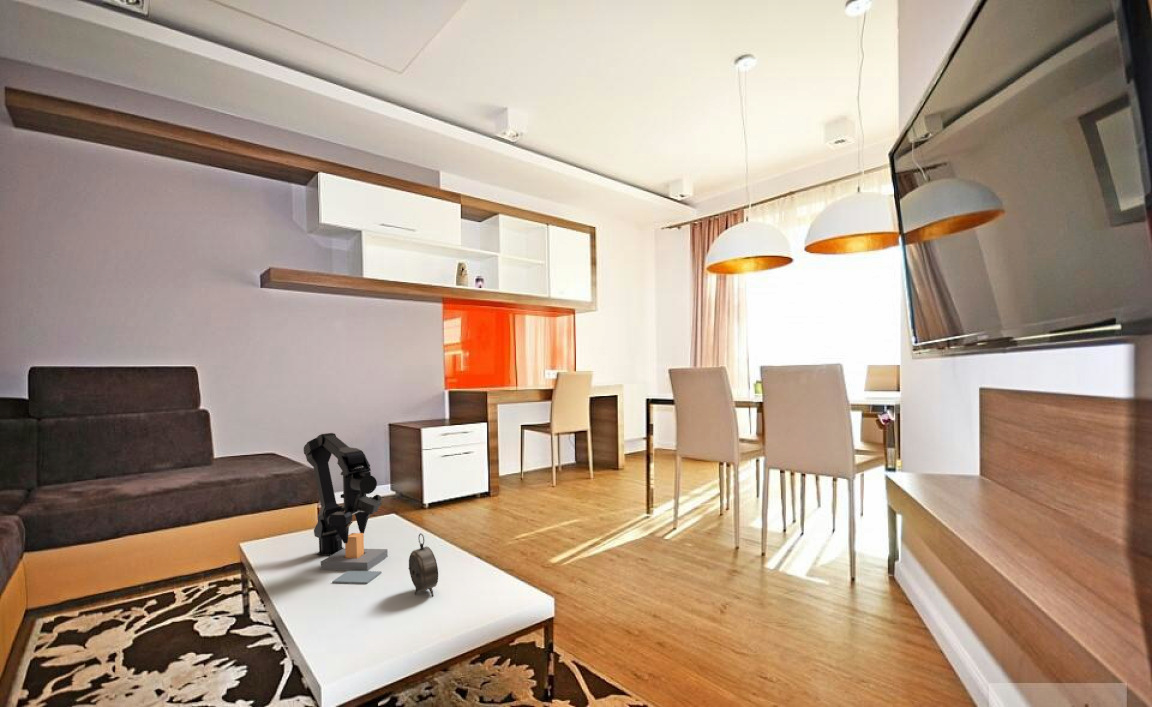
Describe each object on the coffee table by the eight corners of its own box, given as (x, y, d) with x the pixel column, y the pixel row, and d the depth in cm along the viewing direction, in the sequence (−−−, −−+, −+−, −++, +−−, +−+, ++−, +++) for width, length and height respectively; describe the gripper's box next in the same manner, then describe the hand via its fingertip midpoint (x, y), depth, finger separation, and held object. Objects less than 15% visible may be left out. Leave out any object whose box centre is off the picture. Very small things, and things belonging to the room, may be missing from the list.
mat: (332, 583, 153) (332, 581, 153) (348, 572, 161) (348, 570, 161) (366, 583, 151) (366, 582, 151) (381, 573, 159) (381, 571, 159)
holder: (320, 569, 164) (320, 561, 164) (343, 555, 176) (343, 548, 176) (367, 570, 162) (367, 562, 162) (387, 556, 173) (387, 549, 174)
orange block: (345, 565, 167) (344, 537, 167) (353, 560, 171) (352, 533, 171) (357, 565, 167) (356, 537, 167) (364, 560, 170) (363, 533, 171)
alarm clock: (440, 596, 141) (438, 535, 142) (420, 602, 138) (418, 540, 138) (424, 583, 150) (423, 527, 150) (406, 589, 146) (404, 531, 147)
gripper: (359, 497, 159) (360, 548, 159) (390, 483, 177) (391, 529, 177) (326, 497, 161) (327, 548, 160) (360, 483, 179) (361, 529, 179)
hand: (354, 538), depth 169 cm, fingers open, 9 cm apart
